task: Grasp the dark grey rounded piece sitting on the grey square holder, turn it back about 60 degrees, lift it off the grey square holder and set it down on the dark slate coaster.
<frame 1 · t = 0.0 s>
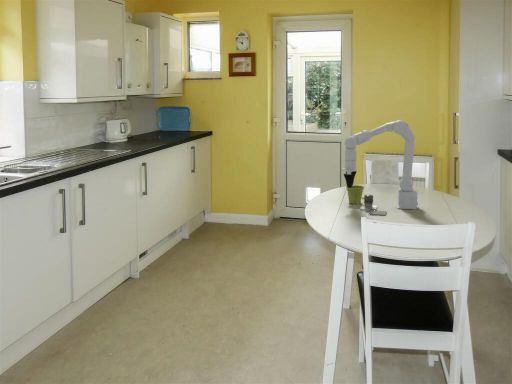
hand: (350, 186, 289), 10 cm above the table, tool pointing down, fingers open, 7 cm apart
grey square holder: (368, 208, 283), on the table
dark grey rounded piece: (368, 202, 282), point 3 cm above the table, touching grey square holder
coaster: (377, 213, 272), on the table
plant pot: (354, 203, 297), on the table
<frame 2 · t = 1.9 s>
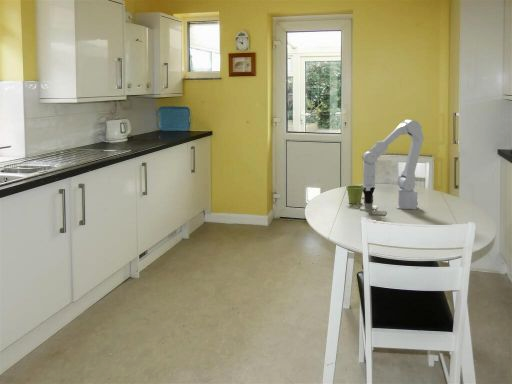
hand: (368, 202, 282), 3 cm above the table, tool pointing down, fingers closed on dark grey rounded piece, 4 cm apart
dark grey rounded piece: (368, 202, 282), point 3 cm above the table, touching gripper, grey square holder
everything else where it was.
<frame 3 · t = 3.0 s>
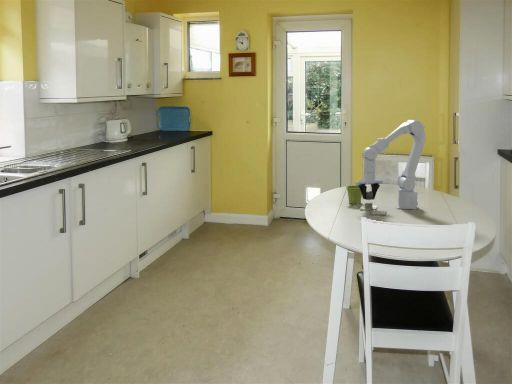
hand: (368, 198, 282), 5 cm above the table, tool pointing down, fingers closed on dark grey rounded piece, 4 cm apart
dark grey rounded piece: (368, 198, 282), point 5 cm above the table, touching gripper
everything else where it was.
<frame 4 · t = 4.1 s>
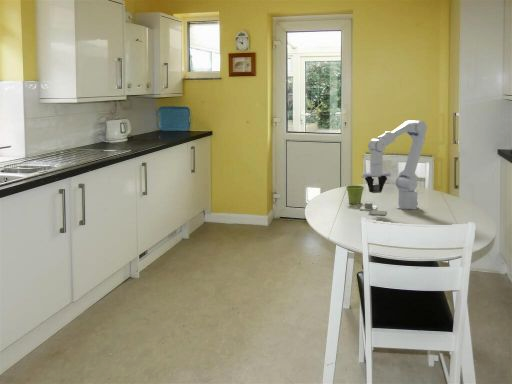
hand: (375, 191, 273), 10 cm above the table, tool pointing down, fingers closed on dark grey rounded piece, 4 cm apart
dark grey rounded piece: (375, 192, 273), point 10 cm above the table, touching gripper
everything else where it was.
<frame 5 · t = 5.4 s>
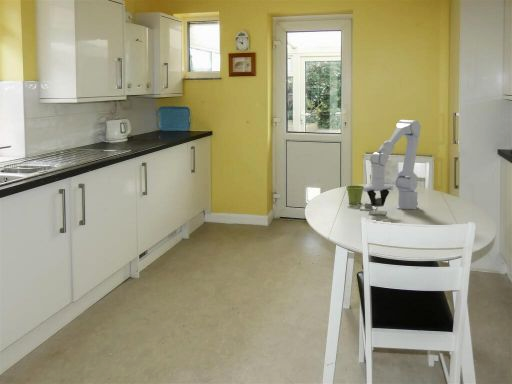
hand: (377, 205, 271), 4 cm above the table, tool pointing down, fingers closed on dark grey rounded piece, 4 cm apart
dark grey rounded piece: (377, 205, 271), point 4 cm above the table, touching gripper
everything else where it was.
when the fingers open (2 cm above the table, at t = 6.2 s): dark grey rounded piece drops 2 cm, resting on coaster.
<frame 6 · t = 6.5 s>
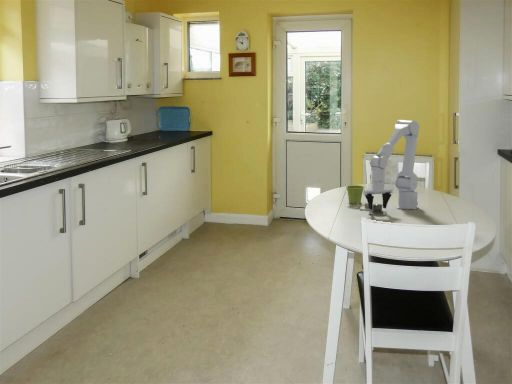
hand: (377, 208, 271), 2 cm above the table, tool pointing down, fingers open, 7 cm apart
dark grey rounded piece: (377, 212, 272), resting on coaster
everything else where it was.
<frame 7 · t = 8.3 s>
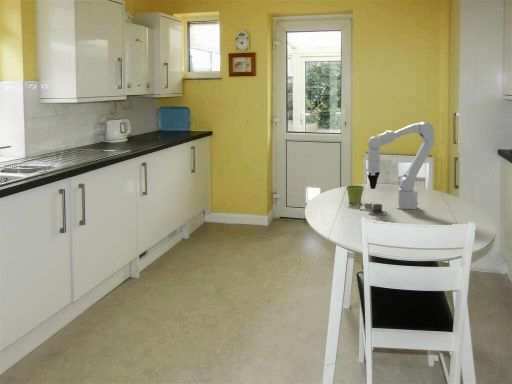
hand: (373, 187, 283), 10 cm above the table, tool pointing down, fingers open, 7 cm apart
nothing on the table moved.
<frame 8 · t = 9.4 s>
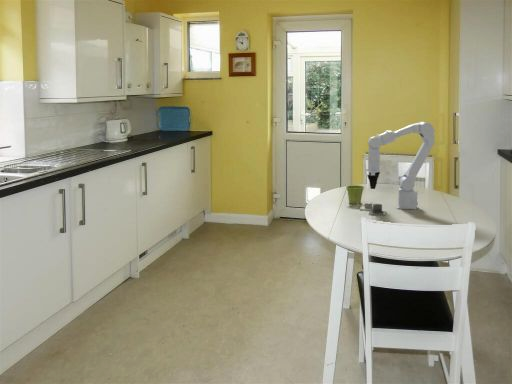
hand: (373, 187, 283), 10 cm above the table, tool pointing down, fingers open, 7 cm apart
nothing on the table moved.
at the end: dark grey rounded piece inside the target area on the coaster (0.2 cm from its centre), point 0.5 cm above the coaster's base; dark grey rounded piece tilted 0°; dark grey rounded piece touching coaster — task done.
